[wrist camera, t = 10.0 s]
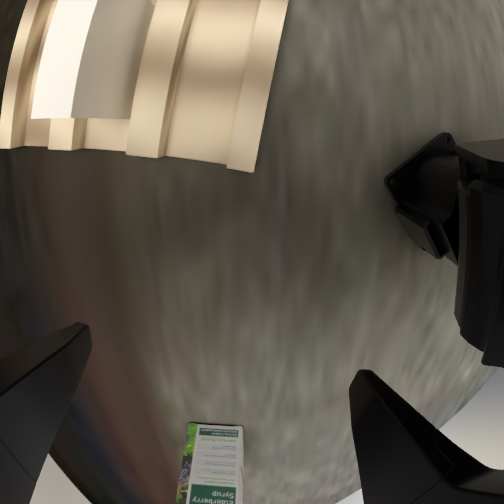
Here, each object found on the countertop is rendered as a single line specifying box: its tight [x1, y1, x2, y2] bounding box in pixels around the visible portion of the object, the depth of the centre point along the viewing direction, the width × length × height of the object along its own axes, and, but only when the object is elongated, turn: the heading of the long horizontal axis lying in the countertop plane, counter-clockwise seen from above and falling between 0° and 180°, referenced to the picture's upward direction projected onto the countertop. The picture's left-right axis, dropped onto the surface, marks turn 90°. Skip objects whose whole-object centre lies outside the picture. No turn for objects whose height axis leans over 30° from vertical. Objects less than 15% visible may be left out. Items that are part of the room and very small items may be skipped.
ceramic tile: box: [31, 0, 155, 119], centre depth 12 cm, size 2×8×7 cm, turn 169°
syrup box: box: [175, 423, 244, 504], centre depth 22 cm, size 6×6×14 cm
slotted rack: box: [0, 0, 288, 173], centre depth 15 cm, size 12×19×2 cm, turn 79°
